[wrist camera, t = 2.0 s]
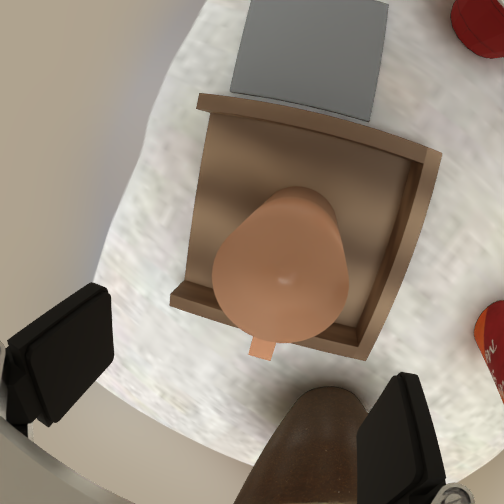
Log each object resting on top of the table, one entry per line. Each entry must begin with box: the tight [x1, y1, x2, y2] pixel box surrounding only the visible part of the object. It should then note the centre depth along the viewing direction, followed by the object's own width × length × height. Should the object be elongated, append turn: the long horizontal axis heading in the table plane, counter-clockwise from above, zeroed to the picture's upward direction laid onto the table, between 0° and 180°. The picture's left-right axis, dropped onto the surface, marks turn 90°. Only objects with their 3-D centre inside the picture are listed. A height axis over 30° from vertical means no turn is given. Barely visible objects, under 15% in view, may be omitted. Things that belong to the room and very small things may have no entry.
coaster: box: [230, 0, 389, 122], centre depth 19 cm, size 11×11×1 cm
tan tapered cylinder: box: [212, 186, 349, 361], centre depth 20 cm, size 9×6×11 cm
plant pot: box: [234, 387, 368, 504], centre depth 23 cm, size 15×15×16 cm
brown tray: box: [170, 93, 442, 361], centre depth 23 cm, size 17×17×4 cm
